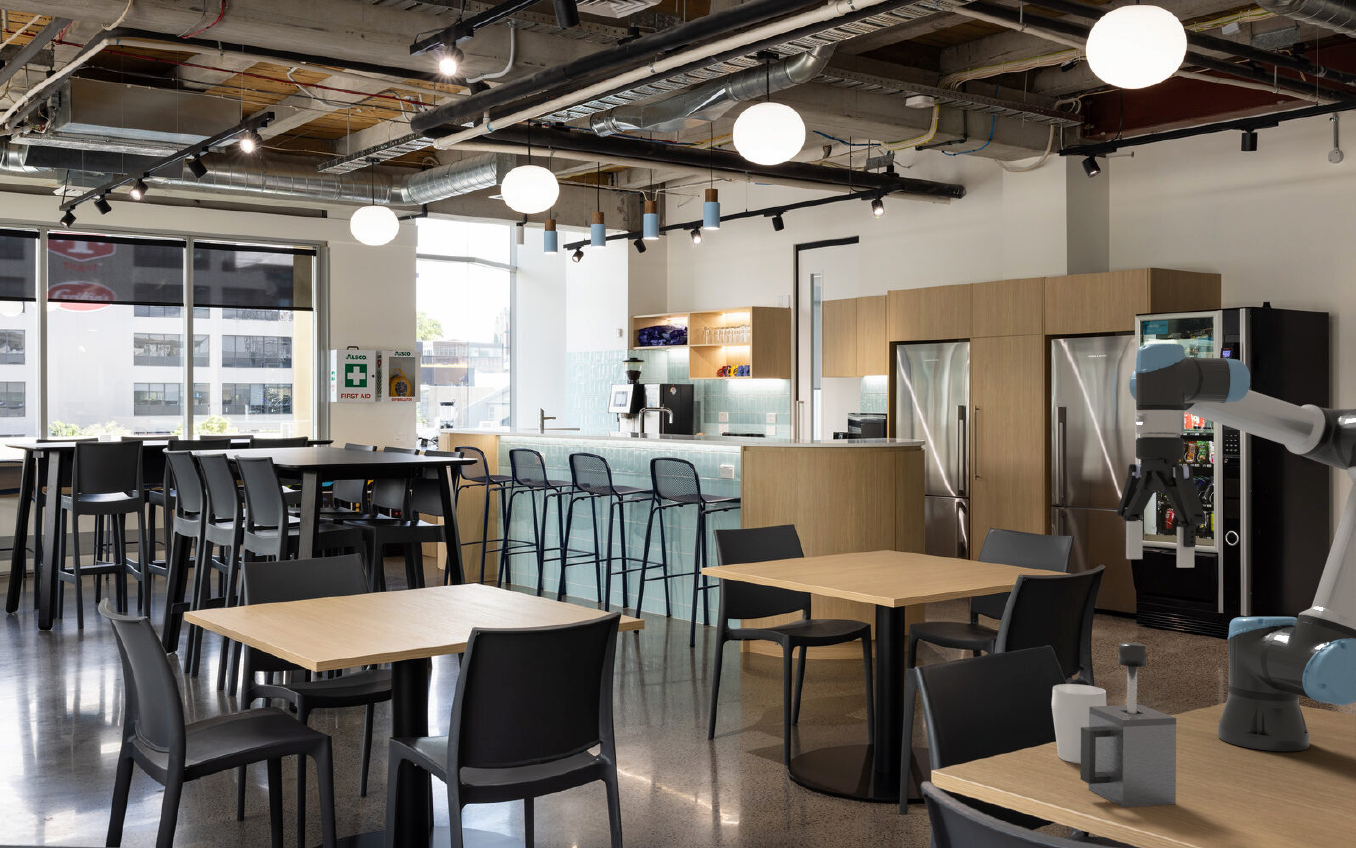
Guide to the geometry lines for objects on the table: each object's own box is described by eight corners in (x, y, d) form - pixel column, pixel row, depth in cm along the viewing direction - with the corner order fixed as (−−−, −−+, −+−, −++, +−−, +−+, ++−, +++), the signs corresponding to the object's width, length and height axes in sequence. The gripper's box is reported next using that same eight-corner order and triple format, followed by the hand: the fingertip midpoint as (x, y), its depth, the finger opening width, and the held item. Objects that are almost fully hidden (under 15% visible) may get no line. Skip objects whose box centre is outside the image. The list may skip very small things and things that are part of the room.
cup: (1110, 768, 194) (1111, 696, 194) (1054, 764, 195) (1055, 693, 196) (1101, 754, 202) (1102, 685, 203) (1048, 750, 204) (1048, 682, 204)
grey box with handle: (1139, 786, 183) (1140, 704, 183) (1175, 804, 174) (1176, 718, 174) (1068, 790, 180) (1069, 707, 180) (1101, 808, 171) (1102, 721, 172)
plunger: (1137, 770, 181) (1138, 640, 182) (1162, 782, 175) (1163, 648, 176) (1100, 772, 180) (1102, 641, 180) (1125, 784, 174) (1126, 649, 174)
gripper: (1096, 436, 204) (1096, 555, 204) (1188, 435, 180) (1188, 571, 180) (1134, 436, 206) (1133, 555, 206) (1230, 436, 182) (1229, 571, 181)
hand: (1159, 563), depth 193 cm, fingers open, 13 cm apart
